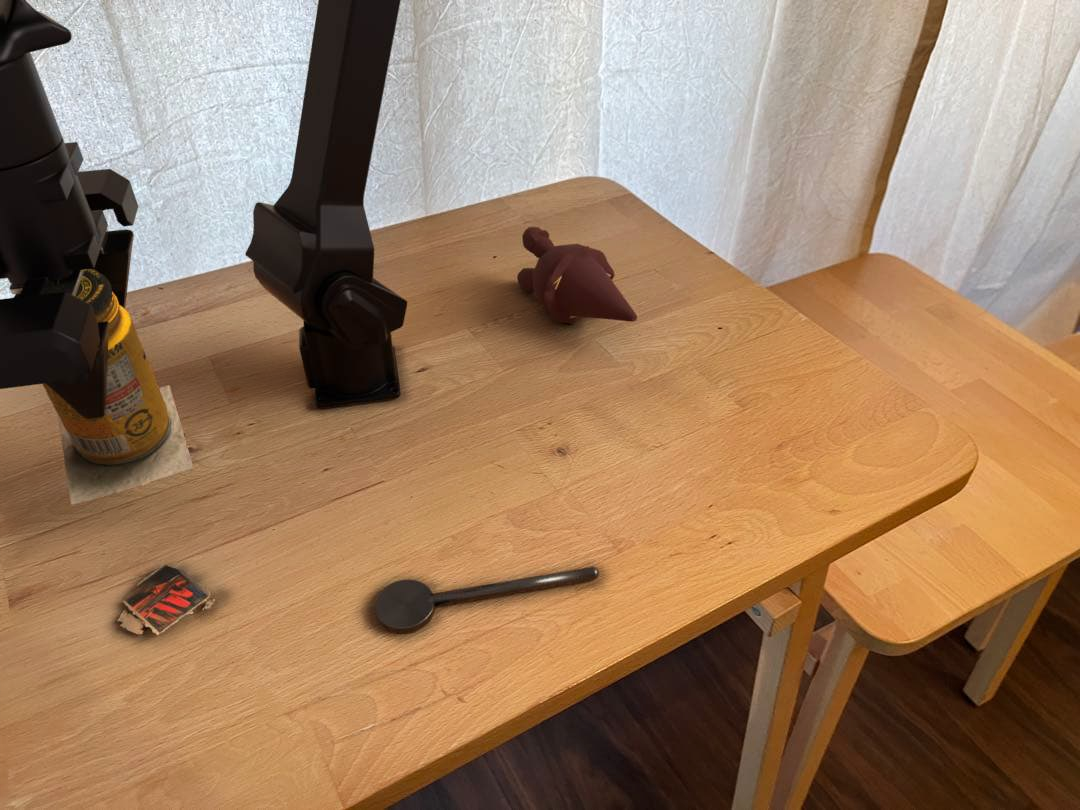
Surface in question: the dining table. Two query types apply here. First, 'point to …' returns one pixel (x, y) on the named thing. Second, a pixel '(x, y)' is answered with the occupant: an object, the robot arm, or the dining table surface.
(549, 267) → the brown gnome figurine
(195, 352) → the dining table surface
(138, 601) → the torn cardboard piece
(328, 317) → the robot arm
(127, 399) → the condiment
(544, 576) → the steel spoon
